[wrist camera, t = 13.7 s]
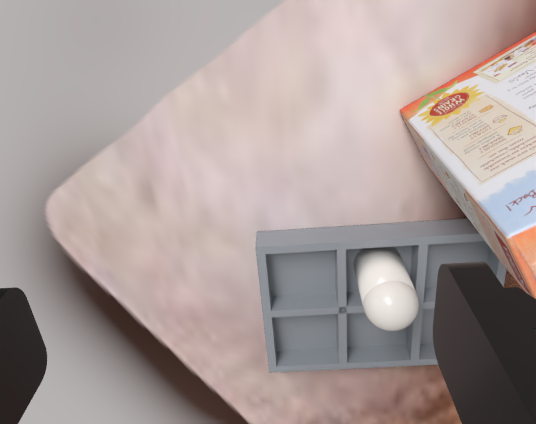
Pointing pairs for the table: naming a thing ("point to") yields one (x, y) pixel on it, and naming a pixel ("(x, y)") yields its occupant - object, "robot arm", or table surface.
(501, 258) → the cracker box
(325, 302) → the egg tray
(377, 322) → the egg
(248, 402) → the table surface
